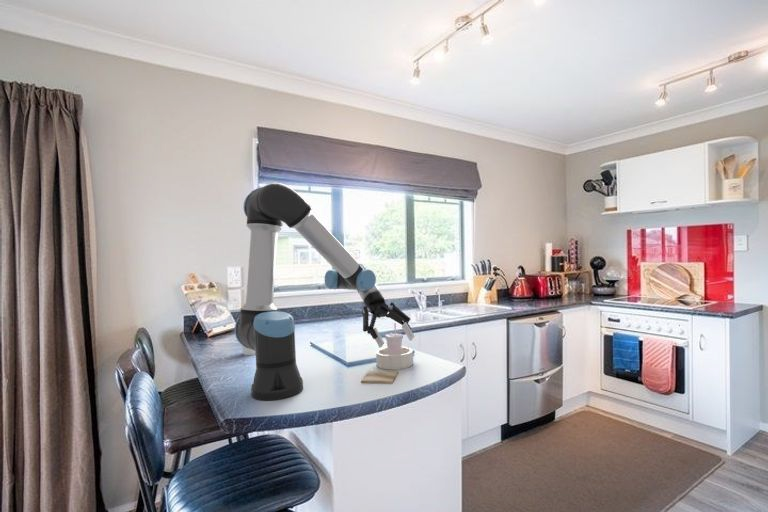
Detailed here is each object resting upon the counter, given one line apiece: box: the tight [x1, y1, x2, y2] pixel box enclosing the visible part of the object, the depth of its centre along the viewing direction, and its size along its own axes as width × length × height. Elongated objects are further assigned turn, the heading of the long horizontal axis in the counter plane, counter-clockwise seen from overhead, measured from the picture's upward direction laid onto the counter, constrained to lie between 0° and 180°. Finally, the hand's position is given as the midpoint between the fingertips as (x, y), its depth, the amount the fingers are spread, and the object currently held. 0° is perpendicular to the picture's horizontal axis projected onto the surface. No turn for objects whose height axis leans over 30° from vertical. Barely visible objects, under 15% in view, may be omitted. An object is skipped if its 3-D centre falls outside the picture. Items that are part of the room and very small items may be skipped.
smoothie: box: [384, 322, 404, 355], centre depth 137 cm, size 6×6×14 cm
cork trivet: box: [360, 370, 399, 385], centre depth 123 cm, size 10×10×1 cm
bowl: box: [375, 346, 414, 371], centre depth 137 cm, size 13×13×5 cm
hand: (397, 341), depth 135 cm, fingers open, 13 cm apart
